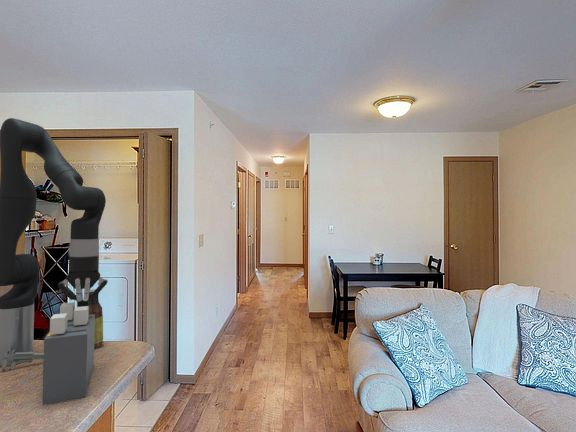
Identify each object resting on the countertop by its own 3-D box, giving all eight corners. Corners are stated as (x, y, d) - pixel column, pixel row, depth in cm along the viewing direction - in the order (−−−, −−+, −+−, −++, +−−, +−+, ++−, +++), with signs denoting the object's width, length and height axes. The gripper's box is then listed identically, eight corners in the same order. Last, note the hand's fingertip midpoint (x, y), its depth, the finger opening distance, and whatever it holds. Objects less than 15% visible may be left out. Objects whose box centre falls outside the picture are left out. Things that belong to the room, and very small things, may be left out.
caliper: (1, 373, 96) (2, 351, 96) (2, 371, 96) (2, 350, 97) (83, 356, 108) (84, 337, 108) (83, 355, 109) (83, 336, 109)
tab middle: (73, 325, 88) (73, 310, 89) (75, 321, 92) (76, 307, 92) (86, 324, 90) (86, 309, 90) (88, 320, 93) (88, 306, 93)
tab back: (59, 320, 92) (60, 306, 92) (62, 316, 96) (62, 303, 96) (72, 319, 93) (72, 305, 93) (74, 315, 97) (74, 302, 97)
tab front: (49, 334, 81) (50, 318, 81) (53, 329, 85) (53, 314, 85) (64, 333, 83) (64, 317, 83) (67, 328, 86) (67, 313, 86)
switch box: (42, 405, 79) (44, 338, 80) (58, 371, 97) (59, 316, 97) (85, 397, 83) (87, 333, 83) (93, 366, 100) (95, 313, 101)
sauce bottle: (102, 342, 120) (104, 287, 120) (103, 348, 114) (104, 291, 115) (81, 345, 116) (83, 289, 117) (81, 351, 111) (82, 292, 111)
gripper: (110, 252, 103) (109, 307, 103) (59, 253, 97) (58, 312, 97) (109, 255, 96) (107, 314, 96) (54, 256, 90) (52, 319, 90)
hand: (82, 313), depth 96 cm, fingers closed
